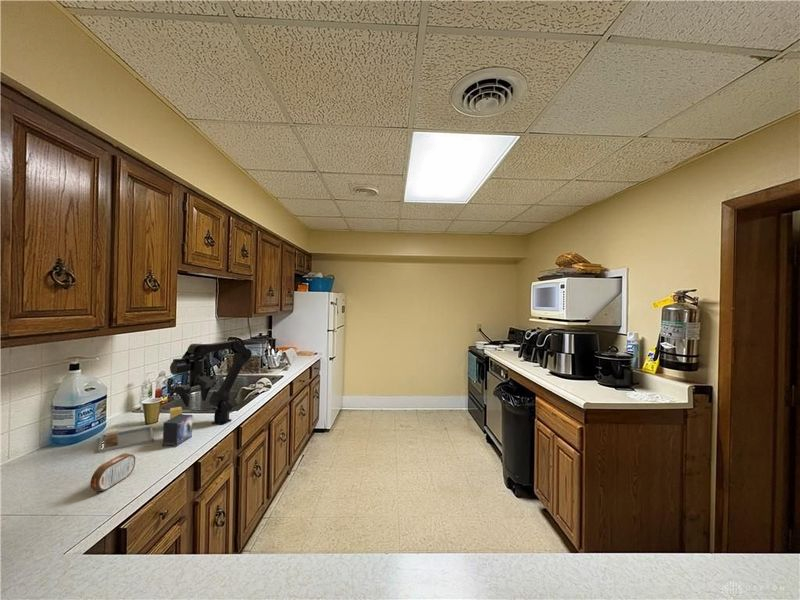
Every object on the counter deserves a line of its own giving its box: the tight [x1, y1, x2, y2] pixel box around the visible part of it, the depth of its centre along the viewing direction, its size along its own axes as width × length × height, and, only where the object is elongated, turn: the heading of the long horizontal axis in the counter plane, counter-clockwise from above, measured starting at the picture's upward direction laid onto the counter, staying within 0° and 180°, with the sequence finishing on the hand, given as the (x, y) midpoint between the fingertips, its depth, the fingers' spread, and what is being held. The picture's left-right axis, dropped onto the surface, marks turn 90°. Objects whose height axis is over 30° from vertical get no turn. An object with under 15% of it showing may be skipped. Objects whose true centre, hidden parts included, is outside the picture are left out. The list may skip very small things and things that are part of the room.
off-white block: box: [105, 428, 119, 436], centre depth 146 cm, size 4×4×4 cm
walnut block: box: [105, 434, 118, 448], centre depth 141 cm, size 4×4×4 cm
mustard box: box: [169, 406, 183, 419], centre depth 163 cm, size 4×4×8 cm
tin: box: [89, 452, 136, 492], centre depth 114 cm, size 15×3×8 cm, turn 178°
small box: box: [162, 413, 194, 448], centre depth 146 cm, size 11×6×10 cm, turn 179°
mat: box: [155, 422, 197, 432], centre depth 163 cm, size 12×12×1 cm
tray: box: [97, 425, 155, 454], centre depth 147 cm, size 18×18×2 cm
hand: (195, 403), depth 158 cm, fingers open, 9 cm apart
